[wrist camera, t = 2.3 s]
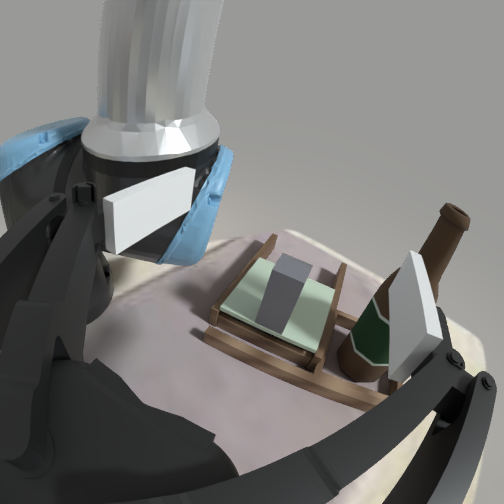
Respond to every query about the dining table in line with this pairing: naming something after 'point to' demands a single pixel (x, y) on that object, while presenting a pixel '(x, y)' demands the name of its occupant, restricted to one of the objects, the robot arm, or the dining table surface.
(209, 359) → the dining table surface
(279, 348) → the brown flat frame
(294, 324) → the cover
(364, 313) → the beer bottle
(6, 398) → the robot arm
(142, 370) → the dining table surface
